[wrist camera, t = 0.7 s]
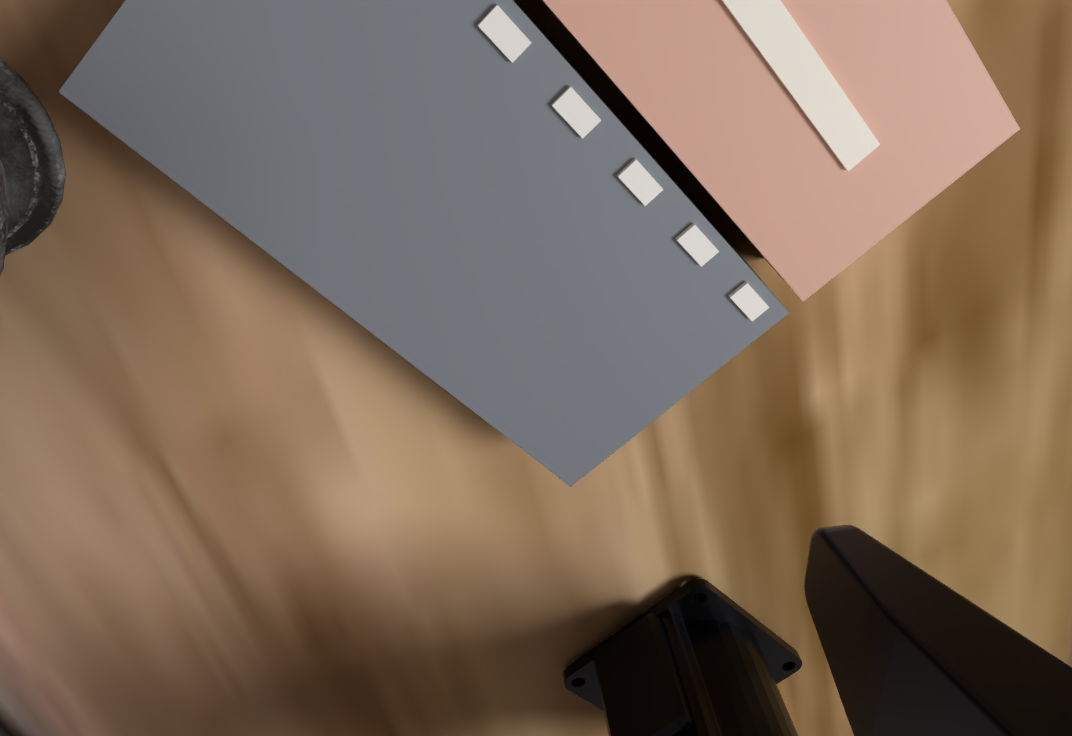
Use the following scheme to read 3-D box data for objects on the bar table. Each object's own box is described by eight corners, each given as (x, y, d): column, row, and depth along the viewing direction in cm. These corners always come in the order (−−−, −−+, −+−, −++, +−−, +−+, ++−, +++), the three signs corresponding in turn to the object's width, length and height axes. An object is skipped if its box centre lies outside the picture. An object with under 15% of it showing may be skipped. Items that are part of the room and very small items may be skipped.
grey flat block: (752, 269, 20) (791, 315, 18) (558, 430, 22) (571, 489, 20) (322, -219, 14) (299, -241, 12) (108, 66, 16) (55, 93, 14)
